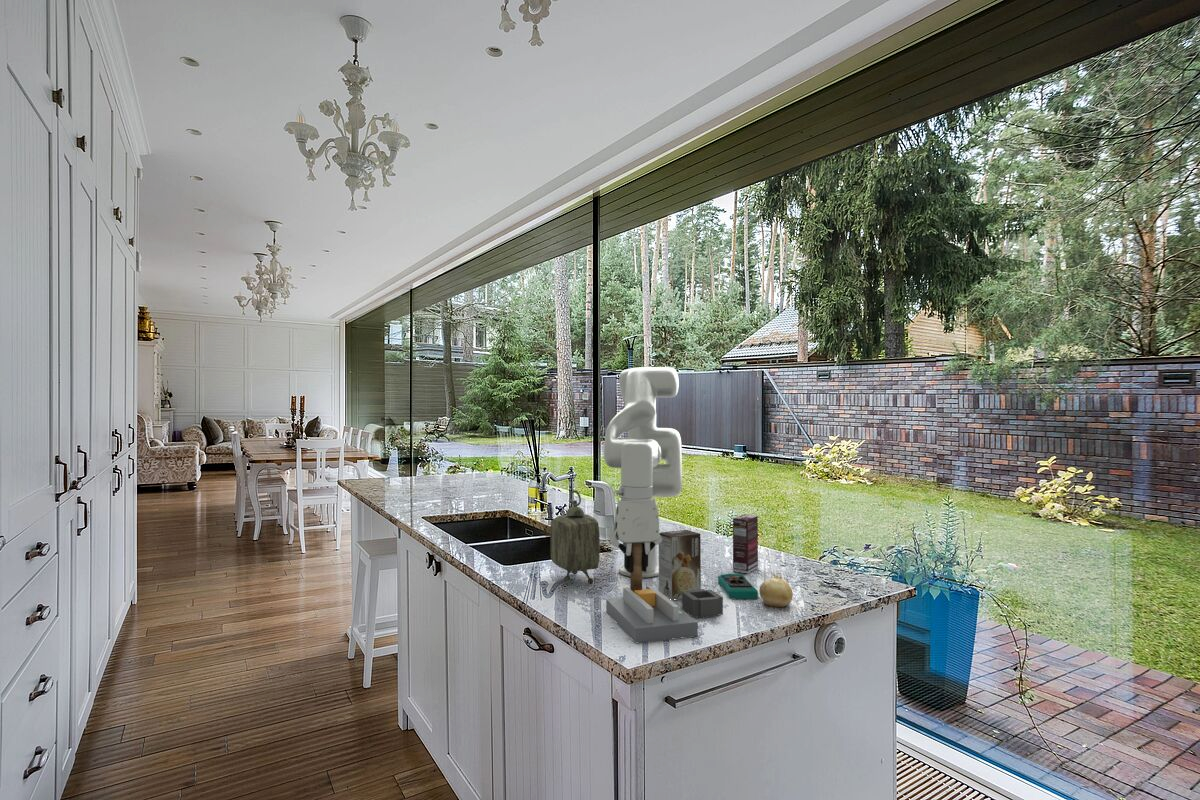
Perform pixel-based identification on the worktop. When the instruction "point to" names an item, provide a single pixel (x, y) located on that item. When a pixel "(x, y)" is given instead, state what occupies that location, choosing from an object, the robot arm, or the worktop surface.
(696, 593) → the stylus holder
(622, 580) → the worktop surface
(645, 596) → the breaker handle
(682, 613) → the grey slider track base
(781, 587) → the onion
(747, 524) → the supplement box
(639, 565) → the stylus
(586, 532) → the tabletop clock
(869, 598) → the worktop surface
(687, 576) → the coffee box
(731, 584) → the digital multimeter
